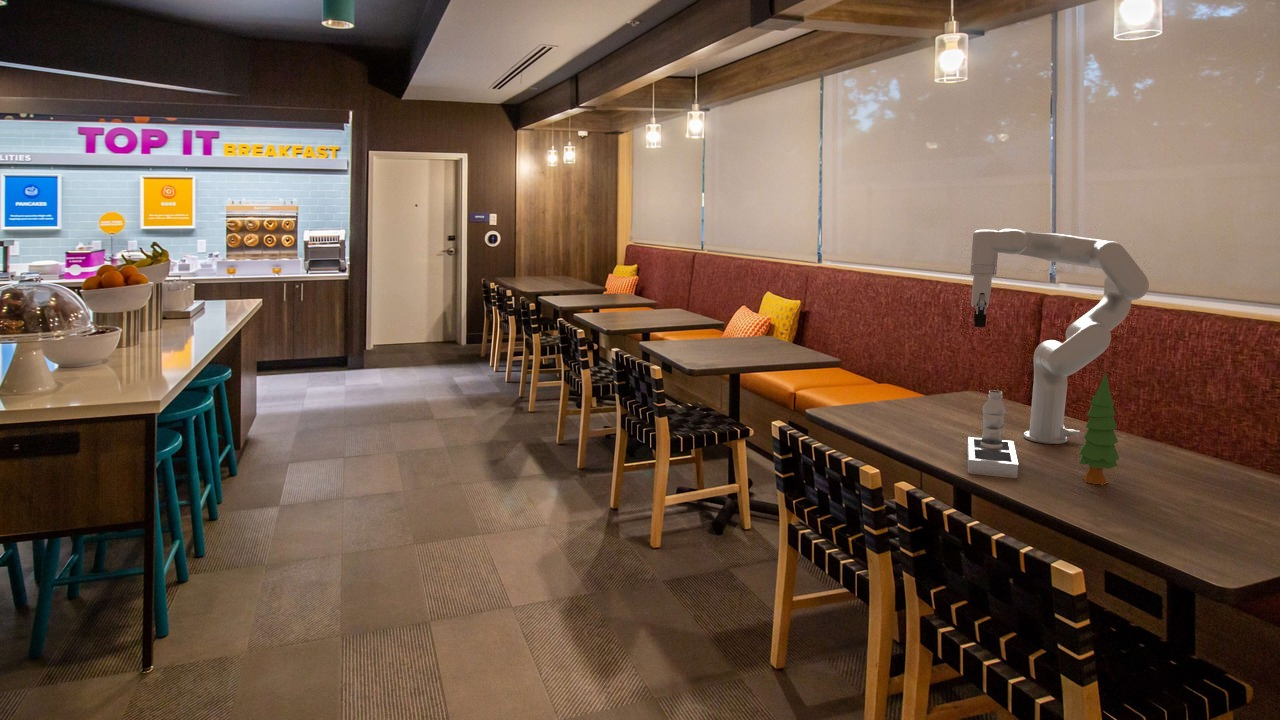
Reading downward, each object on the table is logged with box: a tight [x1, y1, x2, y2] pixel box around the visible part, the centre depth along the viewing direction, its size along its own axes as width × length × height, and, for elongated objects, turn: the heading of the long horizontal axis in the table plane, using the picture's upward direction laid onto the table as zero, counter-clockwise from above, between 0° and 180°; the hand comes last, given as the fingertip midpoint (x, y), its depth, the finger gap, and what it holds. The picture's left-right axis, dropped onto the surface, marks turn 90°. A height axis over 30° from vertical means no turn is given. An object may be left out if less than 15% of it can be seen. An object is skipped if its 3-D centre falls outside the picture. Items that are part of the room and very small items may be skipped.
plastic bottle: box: [979, 389, 1007, 450], centre depth 244 cm, size 6×7×20 cm
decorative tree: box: [1079, 371, 1120, 485], centre depth 222 cm, size 10×9×30 cm
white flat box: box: [966, 436, 1019, 479], centre depth 241 cm, size 12×24×4 cm, turn 160°
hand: (979, 324), depth 262 cm, fingers open, 9 cm apart
